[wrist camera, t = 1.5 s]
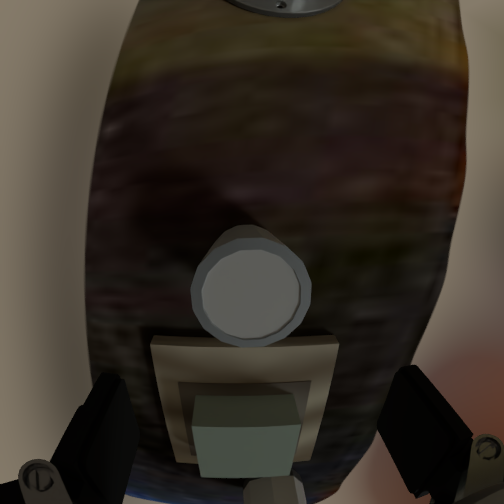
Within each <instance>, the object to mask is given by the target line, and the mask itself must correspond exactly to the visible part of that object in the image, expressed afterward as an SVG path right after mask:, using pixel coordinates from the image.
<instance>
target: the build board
mask: <svg viewBox="0 0 504 504" xmlns="http://www.w3.org/2000/svg"><path fill="white" fill-rule="evenodd" d="M150 347H151V353H152V358H153V364H154V369H155V375H156V380H157V385H158V390H159V394H160V399H161V403H162V408H163V412H164V416H165V421H166V425H167V429H168V433H169V436H170V440H171V444H172V448H173V451H174V455H175V458H176V462H181V463H195V464H198V459H197V454H196V449H195V443H194V437H193V432H192V419H193V411H194V404H195V396H196V395H209V396H262V395H285V394H294V398H295V402H296V406H297V410H298V414H299V417H300V421H301V428H300V432H299V437H298V441H297V446H296V450H295V454H294V459H293V462H297V461H306V460H310V458H311V455H312V451H313V448H314V445H315V441H316V438H317V434H318V431H319V427H320V423H321V420H322V416H323V412H324V408H325V404H326V400H327V396H328V392H329V388H330V384H331V379H332V375H333V371H334V366H335V361H336V356H337V352H338V347H339V343H338V341H337V339H336V337H335V335H323V336H303V337H285V338H284V339H281V340H279V341H276V342H274V343H271V344H269V345H266V346H263V347H244V348H242V347H238V346H235V345H231V344H228V343H225V342H221V341H220V340H218V339H217V338H208V337H178V336H159V335H154V336H153V339H152V341H151V344H150Z"/></svg>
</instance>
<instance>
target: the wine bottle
mask: <svg viewBox="0 0 504 504" xmlns="http://www.w3.org/2000/svg"><path fill="white" fill-rule="evenodd" d="M243 495H244V504H307V503H306V498H305V493H304V489H303V484H302V480H301V477H300V475H299V474H298V473H297V472H296V471H295V470H293V469H292V468H291V471H290V475H287V476H275V477H257V478H246V479H245V481H244V483H243Z"/></svg>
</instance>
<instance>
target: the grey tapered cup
mask: <svg viewBox="0 0 504 504" xmlns="http://www.w3.org/2000/svg"><path fill="white" fill-rule="evenodd" d="M190 289H191V298H192V307H193V311H194V313H195V314H196V316H197V318H198V320H199V321H200V323H201V325H202V326H203V328H204V329H205V330H207V331H208V332H209V333H210V334H212V335H213V336H214V337H216V338H217V339H218V340H220V341H221V342H225V343H228V344H231V345H235V346H238V347H242V348H244V347H263V346H266V345H269V344H271V343H274V342H276V341H279V340H281V339H284V338H285V337H286V336H287V335H289V334H290V333H291V332H292V331H293V330H294V329H295V328H296V327H297V326H299V325H300V324H301V322H302V320H303V318H304V316H305V314H306V312H307V310H308V308H309V306H310V300H311V281H310V278H309V276H308V273H307V271H306V268H305V266H304V263H303V262H302V261H301V260H300V259H299V258H298V257H297V256H296V255H295V254H294V253H293V252H292V251H291V250H290V249H289V248H288V247H287V246H285V245H284V244H283V243H282V242H281V241H279V240H278V239H277V238H276V237H275V236H274V235H272V234H271V233H270V232H269V231H268V230H266V229H263V228H261V227H258V226H255V225H237V226H235V227H233V228H231V229H229V230H226V231H225V232H224V233H223V234H222V235H221V236H220V237H219V238H218V239H217V240H216V241H215V243H214V244H213V245H212V247H211V248H210V250H209V251H208V253H207V254H206V255H205V257H204V258H203V260H202V261H201V263H200V264H199V266H198V267H197V270H196V273H195V276H194V279H193V282H192V285H191V288H190Z"/></svg>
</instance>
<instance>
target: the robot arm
mask: <svg viewBox="0 0 504 504" xmlns="http://www.w3.org/2000/svg"><path fill="white" fill-rule="evenodd" d="M227 1H229V2H230V3H232V4H234V5H236V6H238V7H240V8H243V9H246V10H249V11H251V12H254V13H259V14H263V15H267V16H275V17H283V18H299V17H307V16H314V15H317V14H321V13H324V12H326V11H328V10H330V9H332V8H334V7H336V6H337V5H338V4H339V3H340V2H342V0H227ZM279 8H281V9H279ZM377 429H378V432H379V433H380V435H381V437H382V439H383V441H384V443H385V445H386V447H387V449H388V451H389V453H390V455H391V457H392V459H393V461H394V463H395V465H396V466H397V468H398V471H399V472H400V475H401V477H402V478H403V480H404V483H405V485H406V487H407V489H408V490H409V492H410V493H413V494H414V496H415V498H419V497H422V496H424V495H427V494H428V493H430V495H431V501H430V504H504V445H503V443H502V441H501V440H500V439H499V438H497V437H496V436H493V435H490V434H482V435H479V436H478V437H476V438H475V439H474V440H473V439H472V438H471V437H472V436H473V433H472V432H471V430H470V429H469V428H468V427H467V425H466V424H465V423H464V422H463V420H462V419H461V418H460V417H459V415H458V414H457V413H456V412H455V410H454V409H453V408H452V407H451V406H450V404H449V403H448V402H447V401H446V399H445V398H444V397H443V396H442V395H441V393H440V392H439V391H438V390H437V389H436V388H435V386H434V385H433V384H432V383H431V382H430V380H429V379H428V378H427V377H426V376H425V375H424V373H423V372H422V371H421V370H420V369H419V367H418V366H416V365H409V366H404V367H401V368H400V369H399V371H398V372H396V373H395V375H394V378H393V381H392V384H391V387H390V390H389V393H388V395H387V398H386V401H385V404H384V406H383V409H382V411H381V414H380V416H379V419H378V421H377ZM139 439H140V431H139V427H138V424H137V421H136V418H135V415H134V412H133V408H132V405H131V401H130V398H129V394H128V391H127V387H126V383H125V380H124V379H120V376H119V375H118V374H111V373H104V372H103V373H101V374H100V376H99V378H98V379H97V381H96V383H95V385H94V386H93V388H92V390H91V392H90V394H89V395H88V397H87V399H86V401H85V403H84V404H83V405H81V406H79V408H78V409H77V411H76V412H75V414H74V416H73V418H72V420H71V422H70V423H69V425H68V427H67V429H66V431H65V433H64V435H63V437H62V438H61V440H60V443H59V445H58V447H57V448H56V450H55V452H54V454H53V456H52V458H51V460H50V462H48V461H46V460H42V459H34V460H31V461H28V462H26V463H25V464H24V465H23V466H22V467H21V469H20V470H19V475H18V479H17V480H14V481H10V482H7V483H3V484H0V504H122V502H123V499H124V495H125V491H126V487H127V483H128V479H129V476H130V472H131V468H132V464H133V461H134V457H135V454H136V450H137V447H138V443H139Z"/></svg>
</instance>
